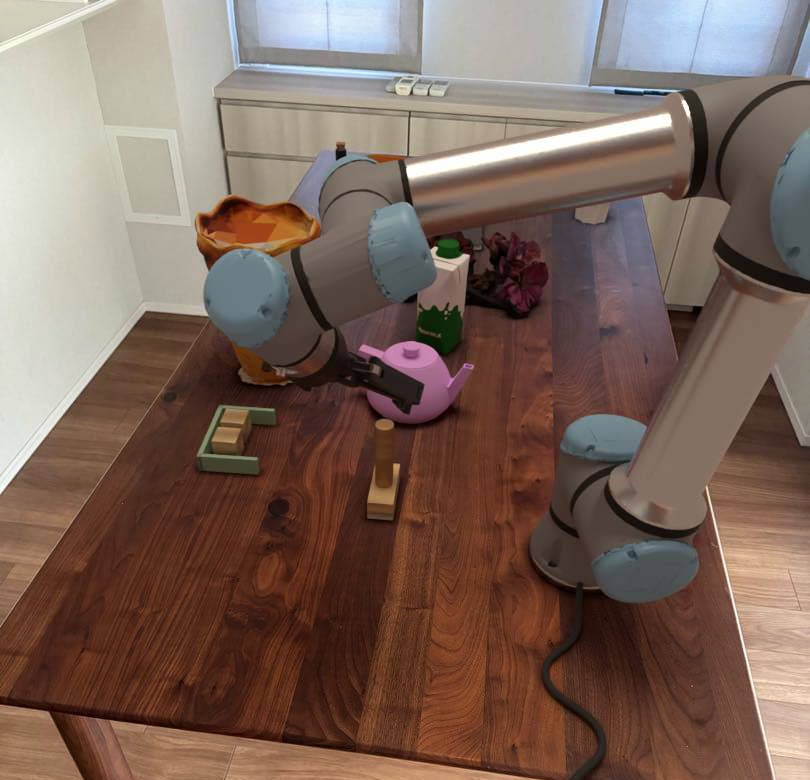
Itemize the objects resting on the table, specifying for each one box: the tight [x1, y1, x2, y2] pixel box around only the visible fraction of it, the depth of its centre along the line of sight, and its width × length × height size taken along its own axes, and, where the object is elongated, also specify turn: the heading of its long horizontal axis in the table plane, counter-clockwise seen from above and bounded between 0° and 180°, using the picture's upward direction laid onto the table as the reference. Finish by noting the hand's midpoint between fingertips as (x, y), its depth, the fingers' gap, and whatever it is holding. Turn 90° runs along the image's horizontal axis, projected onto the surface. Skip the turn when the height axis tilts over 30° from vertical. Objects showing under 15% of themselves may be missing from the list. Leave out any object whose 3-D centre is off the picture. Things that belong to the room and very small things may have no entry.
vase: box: [194, 194, 321, 387], centre depth 141 cm, size 21×20×30 cm
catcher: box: [196, 404, 277, 476], centre depth 134 cm, size 15×10×3 cm
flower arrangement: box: [403, 231, 550, 319], centre depth 171 cm, size 31×20×15 cm, turn 82°
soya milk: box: [414, 239, 470, 357], centre depth 154 cm, size 9×9×20 cm
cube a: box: [211, 427, 245, 456], centre depth 131 cm, size 4×4×4 cm
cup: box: [574, 202, 612, 225], centre depth 206 cm, size 10×10×10 cm
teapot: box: [356, 340, 475, 425], centre depth 141 cm, size 22×16×12 cm
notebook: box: [431, 227, 483, 252], centre depth 200 cm, size 13×2×21 cm
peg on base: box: [366, 418, 401, 521], centre depth 121 cm, size 10×4×14 cm, turn 174°
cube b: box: [220, 409, 252, 444], centre depth 135 cm, size 4×4×4 cm
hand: (359, 392), depth 101 cm, fingers open, 13 cm apart
